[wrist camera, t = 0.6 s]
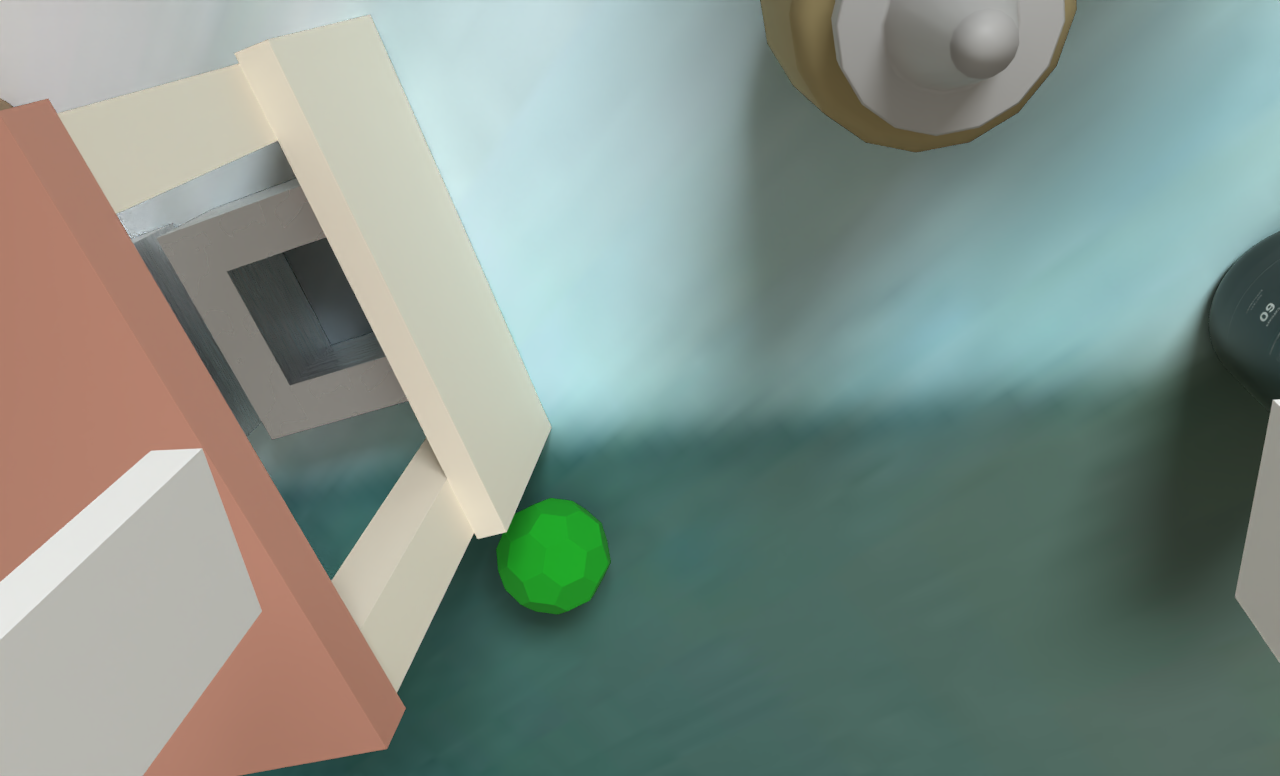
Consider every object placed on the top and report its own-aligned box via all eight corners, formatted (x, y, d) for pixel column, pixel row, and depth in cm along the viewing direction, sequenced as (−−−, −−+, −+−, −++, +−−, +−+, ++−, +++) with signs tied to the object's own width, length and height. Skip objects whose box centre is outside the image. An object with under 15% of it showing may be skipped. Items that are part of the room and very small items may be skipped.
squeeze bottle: (806, 137, 35) (836, 324, 19) (724, -86, 32) (679, -88, 16) (1030, 46, 33) (1277, 171, 17) (964, -203, 30) (1186, -340, 14)
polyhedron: (620, 487, 43) (603, 549, 39) (614, 574, 45) (598, 643, 41) (511, 473, 43) (483, 534, 39) (511, 561, 45) (484, 627, 41)
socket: (8, 283, 42) (-63, 317, 38) (172, 223, 40) (114, 253, 36) (119, 453, 45) (63, 499, 42) (276, 407, 43) (231, 451, 40)
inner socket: (212, 209, 39) (156, 238, 36) (401, 139, 37) (362, 163, 33) (313, 396, 43) (272, 439, 39) (493, 343, 40) (466, 384, 37)
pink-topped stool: (154, 102, 38) (-305, 240, 22) (370, 14, 35) (32, 96, 19) (358, 478, 44) (125, 795, 28) (551, 427, 42) (415, 743, 26)
